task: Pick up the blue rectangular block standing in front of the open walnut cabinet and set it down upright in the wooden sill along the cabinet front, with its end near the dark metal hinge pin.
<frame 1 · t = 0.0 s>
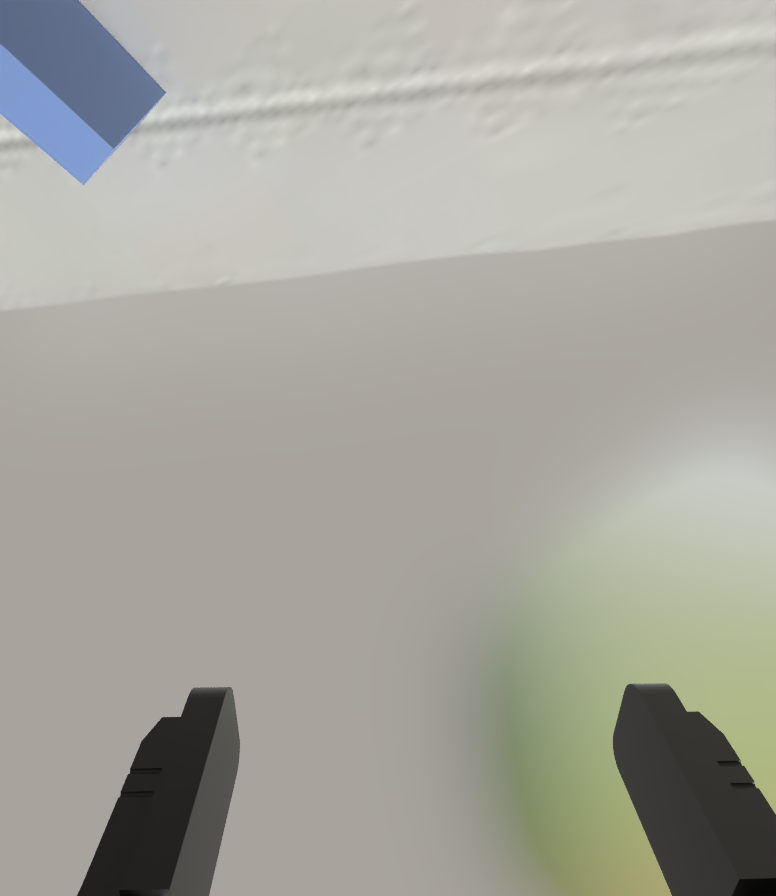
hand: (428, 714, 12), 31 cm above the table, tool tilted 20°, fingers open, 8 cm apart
blue rectangular block: (67, 21, 29), on the table
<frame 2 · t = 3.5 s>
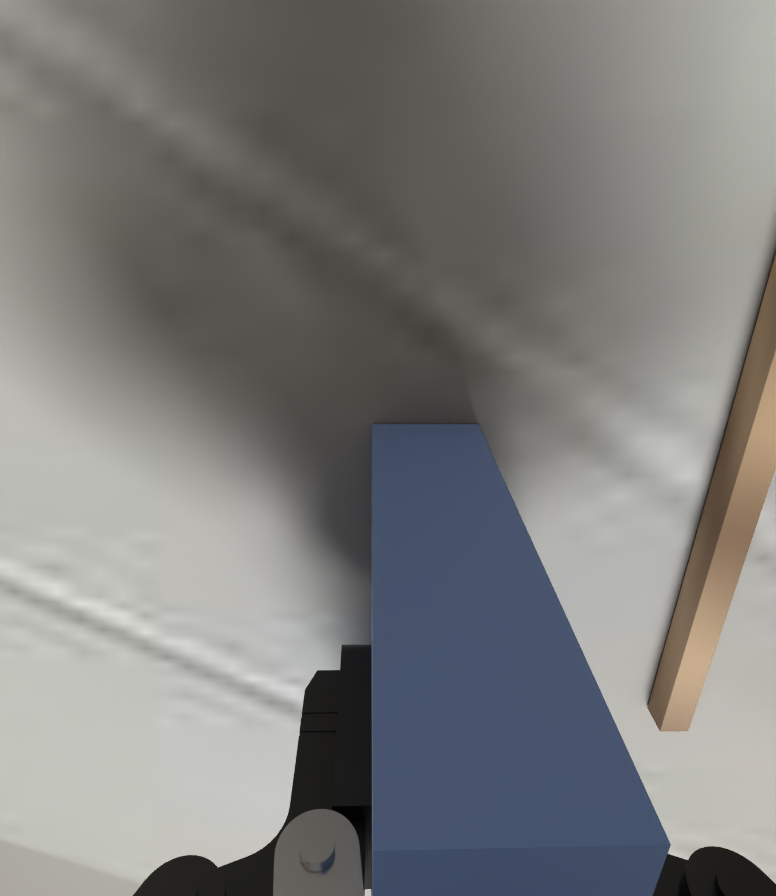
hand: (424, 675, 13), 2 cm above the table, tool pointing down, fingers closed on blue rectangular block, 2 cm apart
blue rectangular block: (417, 601, 15), on the table, touching gripper
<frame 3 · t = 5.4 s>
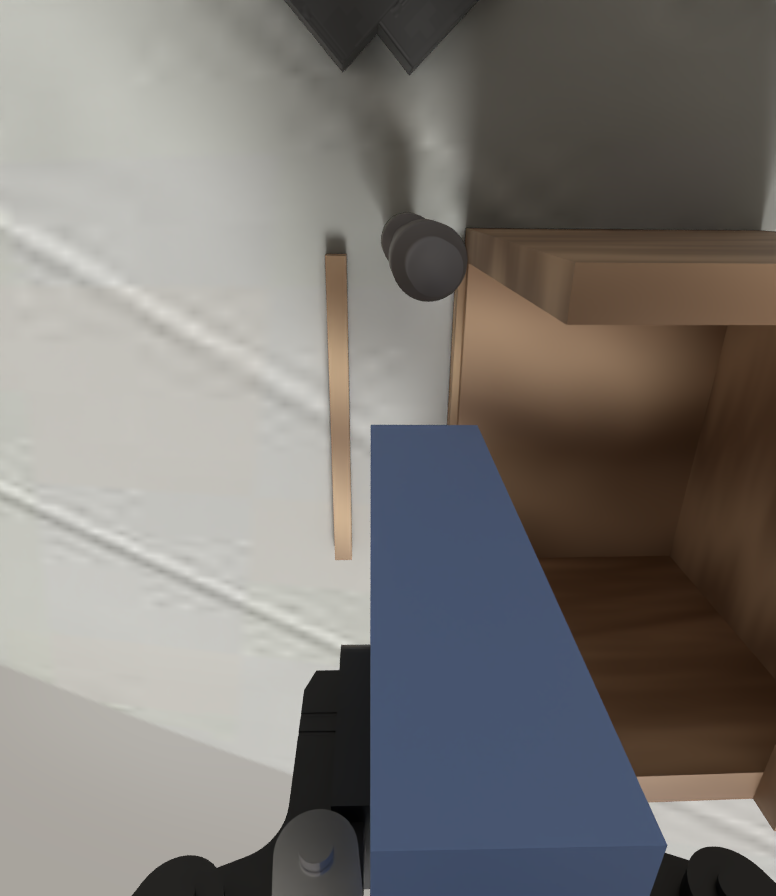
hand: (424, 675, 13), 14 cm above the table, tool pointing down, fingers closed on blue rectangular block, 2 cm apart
cabinet: (595, 417, 26), on the table
blue rectangular block: (416, 602, 15), point 12 cm above the table, touching gripper
when the fingers open (3 cm above the table, at t = 7.4 s): blue rectangular block stays where it is, on the table.
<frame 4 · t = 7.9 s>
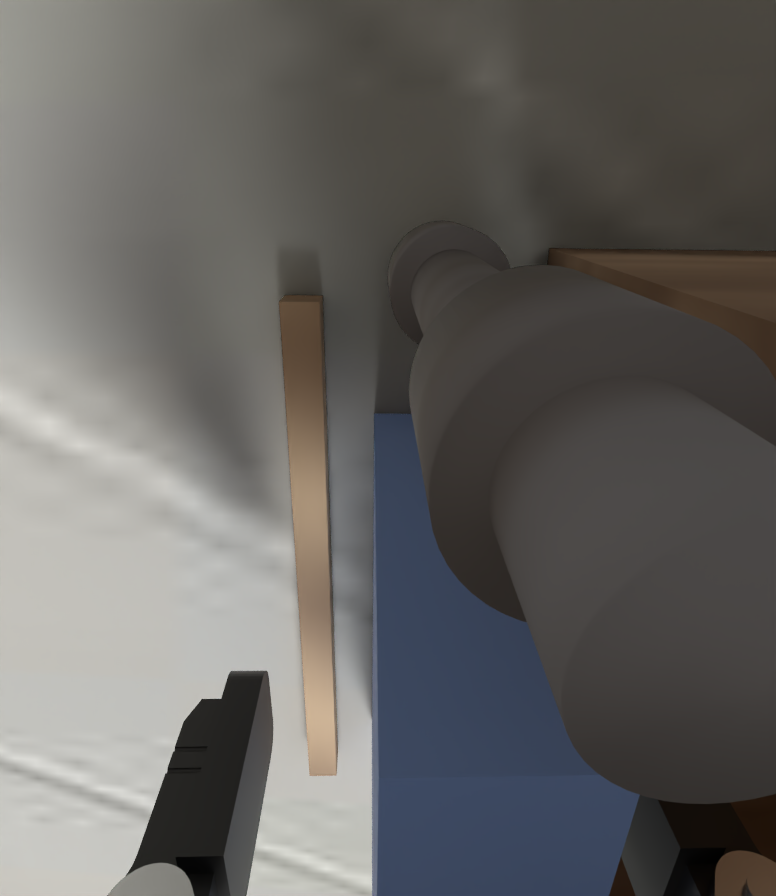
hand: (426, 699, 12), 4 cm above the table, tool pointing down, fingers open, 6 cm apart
cabinet: (749, 565, 15), on the table
blue rectangular block: (417, 586, 15), on the table
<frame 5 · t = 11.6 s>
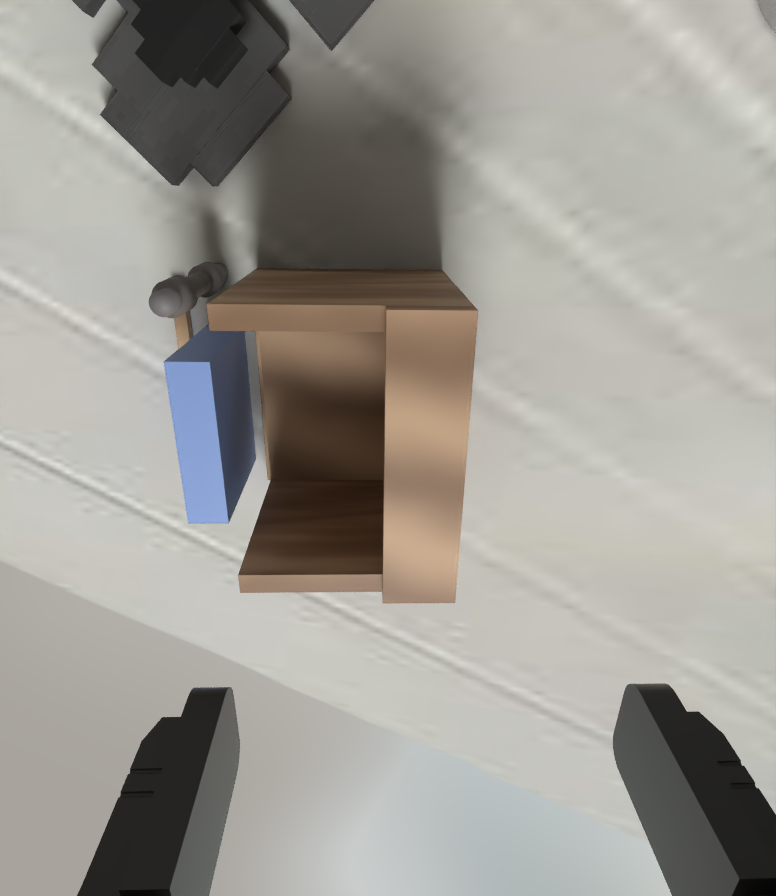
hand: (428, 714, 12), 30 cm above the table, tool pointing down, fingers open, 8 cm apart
cabinet: (359, 386, 40), on the table
blue rectangular block: (233, 395, 40), on the table
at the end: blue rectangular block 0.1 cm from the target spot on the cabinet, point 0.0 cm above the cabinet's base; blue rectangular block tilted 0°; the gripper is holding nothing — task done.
